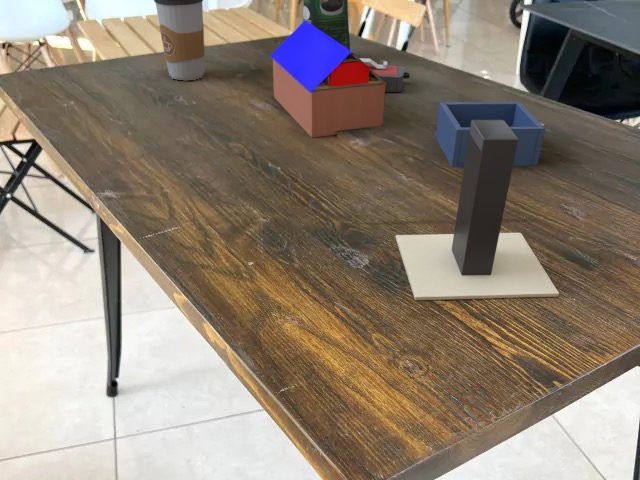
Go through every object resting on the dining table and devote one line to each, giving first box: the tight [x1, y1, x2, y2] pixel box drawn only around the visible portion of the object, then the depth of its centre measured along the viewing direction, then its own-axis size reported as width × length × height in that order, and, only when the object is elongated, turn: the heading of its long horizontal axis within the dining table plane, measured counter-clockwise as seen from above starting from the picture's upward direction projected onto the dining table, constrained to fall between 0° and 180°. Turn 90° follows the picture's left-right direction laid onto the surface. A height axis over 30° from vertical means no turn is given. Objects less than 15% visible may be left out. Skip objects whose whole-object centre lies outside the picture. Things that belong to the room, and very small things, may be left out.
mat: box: [395, 232, 560, 301], centre depth 67 cm, size 14×12×1 cm
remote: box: [452, 120, 518, 275], centre depth 62 cm, size 3×5×14 cm, turn 2°
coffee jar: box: [302, 0, 351, 51], centre depth 123 cm, size 10×8×19 cm
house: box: [270, 21, 386, 138], centre depth 100 cm, size 12×20×12 cm, turn 20°
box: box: [435, 101, 546, 168], centre depth 89 cm, size 12×11×6 cm
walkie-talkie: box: [358, 57, 411, 93], centre depth 115 cm, size 9×4×20 cm
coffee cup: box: [153, 0, 205, 81], centre depth 114 cm, size 8×8×15 cm
